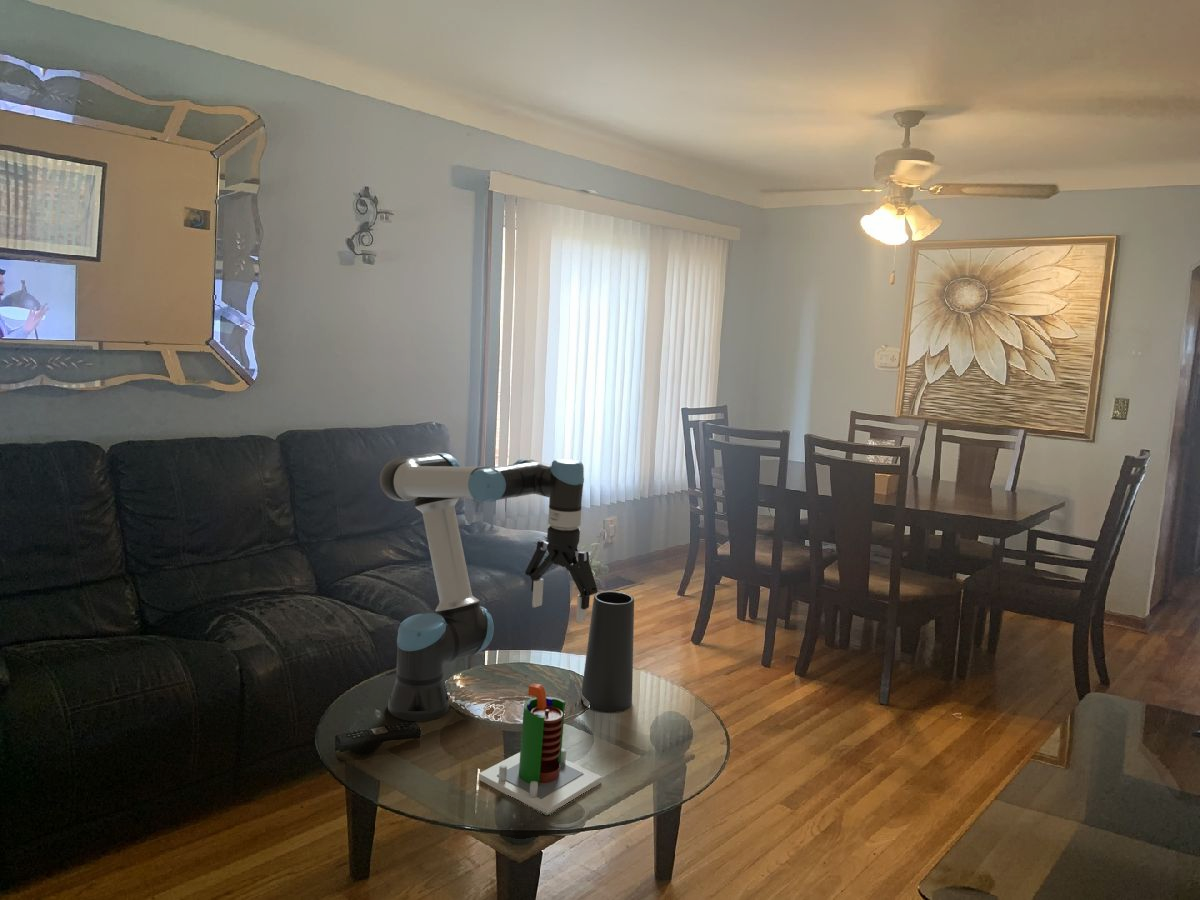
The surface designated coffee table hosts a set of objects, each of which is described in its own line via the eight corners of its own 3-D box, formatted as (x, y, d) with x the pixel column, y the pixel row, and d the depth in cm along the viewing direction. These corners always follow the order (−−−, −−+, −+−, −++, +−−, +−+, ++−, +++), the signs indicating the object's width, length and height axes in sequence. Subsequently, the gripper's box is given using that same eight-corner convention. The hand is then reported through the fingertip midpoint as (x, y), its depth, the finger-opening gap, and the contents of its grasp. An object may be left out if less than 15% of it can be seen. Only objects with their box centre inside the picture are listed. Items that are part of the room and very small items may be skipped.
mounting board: (478, 779, 194) (479, 760, 193) (534, 750, 208) (535, 732, 207) (547, 816, 182) (548, 796, 181) (601, 782, 196) (602, 764, 195)
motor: (552, 788, 189) (558, 700, 186) (512, 781, 191) (517, 694, 188) (564, 765, 199) (570, 681, 196) (526, 758, 201) (531, 675, 198)
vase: (632, 714, 230) (640, 608, 225) (579, 711, 230) (587, 604, 225) (631, 692, 243) (639, 590, 238) (581, 688, 243) (588, 587, 238)
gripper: (513, 517, 210) (509, 603, 214) (596, 540, 195) (589, 632, 199) (535, 513, 216) (530, 596, 219) (616, 534, 201) (610, 624, 205)
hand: (558, 613), depth 209 cm, fingers open, 13 cm apart
